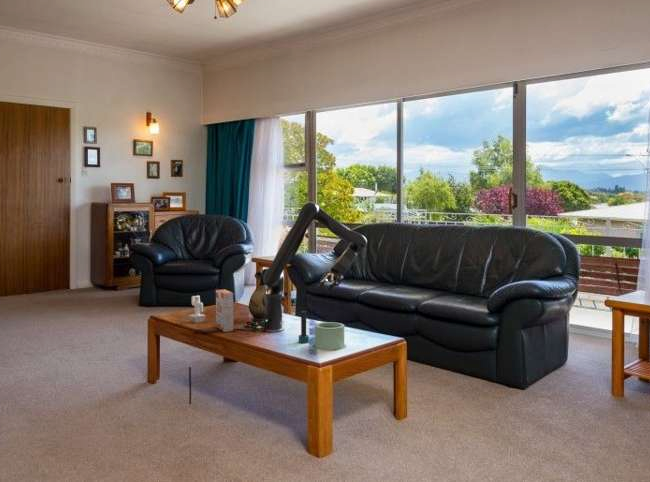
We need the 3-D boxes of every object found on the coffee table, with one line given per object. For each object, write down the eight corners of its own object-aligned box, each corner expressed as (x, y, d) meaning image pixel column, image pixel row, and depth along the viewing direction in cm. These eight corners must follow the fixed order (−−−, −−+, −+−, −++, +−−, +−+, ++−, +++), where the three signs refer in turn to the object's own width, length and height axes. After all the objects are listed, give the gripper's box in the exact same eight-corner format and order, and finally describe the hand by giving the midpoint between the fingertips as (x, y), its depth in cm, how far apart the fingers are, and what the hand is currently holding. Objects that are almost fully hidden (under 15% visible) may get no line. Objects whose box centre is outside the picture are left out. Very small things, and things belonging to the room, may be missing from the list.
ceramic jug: (262, 322, 322) (263, 270, 322) (243, 319, 330) (243, 269, 331) (281, 318, 335) (281, 268, 336) (262, 315, 344) (262, 266, 345)
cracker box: (215, 327, 309) (215, 289, 309) (225, 326, 312) (226, 289, 312) (222, 332, 297) (222, 293, 297) (233, 331, 299) (233, 292, 300)
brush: (298, 343, 275) (298, 312, 275) (299, 340, 280) (299, 310, 280) (308, 343, 275) (308, 312, 275) (309, 340, 280) (309, 310, 280)
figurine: (196, 323, 319) (196, 297, 319) (187, 321, 325) (187, 295, 325) (207, 321, 324) (207, 295, 324) (197, 319, 331) (197, 294, 331)
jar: (314, 349, 262) (314, 328, 262) (315, 342, 276) (315, 322, 276) (344, 349, 262) (344, 328, 262) (344, 342, 276) (344, 322, 276)
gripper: (329, 260, 295) (311, 283, 288) (345, 262, 283) (326, 287, 277) (337, 269, 298) (319, 293, 291) (353, 272, 286) (335, 296, 280)
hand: (323, 290), depth 284 cm, fingers open, 8 cm apart
